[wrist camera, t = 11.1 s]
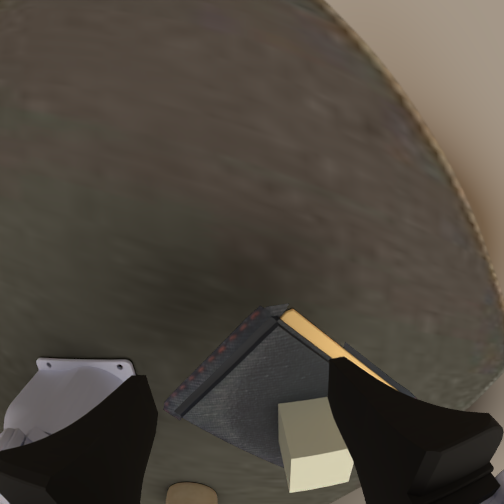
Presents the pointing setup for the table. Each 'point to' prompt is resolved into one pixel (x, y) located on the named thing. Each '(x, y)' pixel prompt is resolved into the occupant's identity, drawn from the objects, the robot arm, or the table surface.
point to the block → (312, 445)
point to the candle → (190, 494)
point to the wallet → (262, 379)
